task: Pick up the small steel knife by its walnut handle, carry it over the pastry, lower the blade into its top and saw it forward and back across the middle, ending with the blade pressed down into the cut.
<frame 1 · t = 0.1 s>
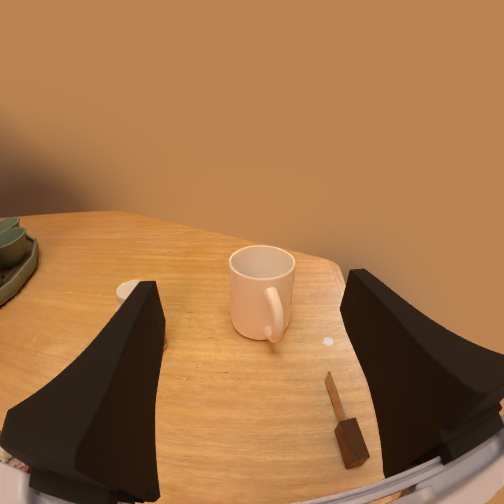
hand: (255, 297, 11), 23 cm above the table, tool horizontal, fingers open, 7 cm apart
supplement bottle: (148, 346, 37), on the table
knife: (339, 421, 27), on the table
pastry: (22, 463, 17), on the table
mug: (263, 331, 40), on the table
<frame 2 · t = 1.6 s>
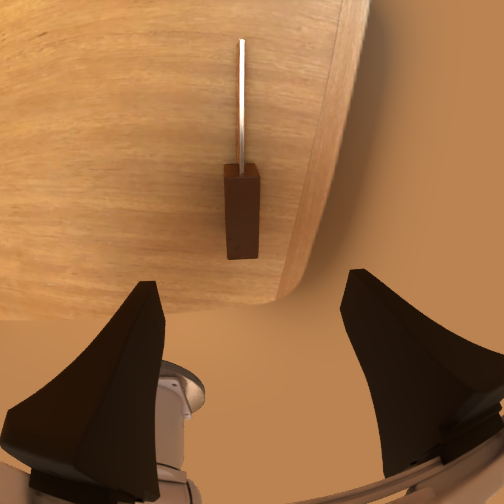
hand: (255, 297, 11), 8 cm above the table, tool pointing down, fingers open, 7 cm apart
knife: (239, 146, 16), on the table
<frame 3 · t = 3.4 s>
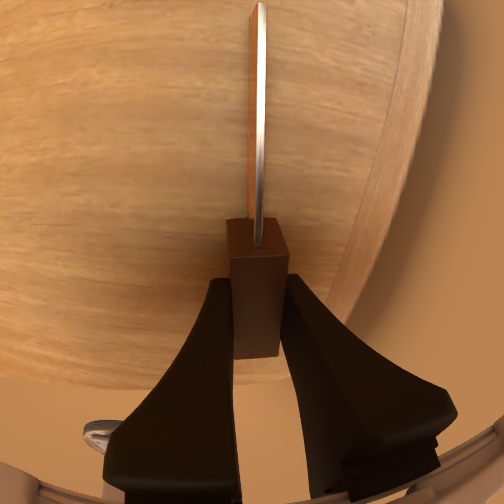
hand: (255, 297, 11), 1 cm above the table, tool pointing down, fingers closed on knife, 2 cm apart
knife: (251, 192, 10), on the table, touching gripper
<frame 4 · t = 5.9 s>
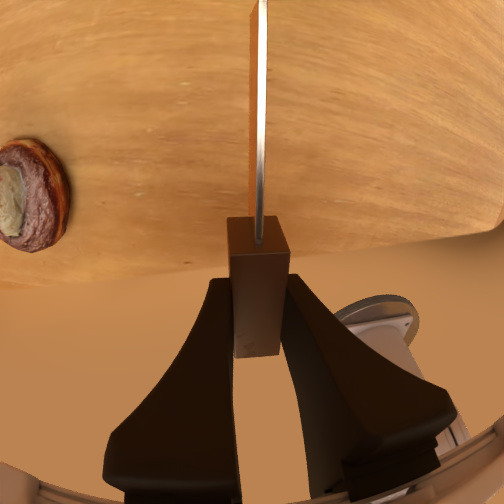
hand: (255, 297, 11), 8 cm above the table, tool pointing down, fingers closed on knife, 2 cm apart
knife: (252, 189, 10), point 7 cm above the table, touching gripper
pastry: (33, 191, 15), on the table
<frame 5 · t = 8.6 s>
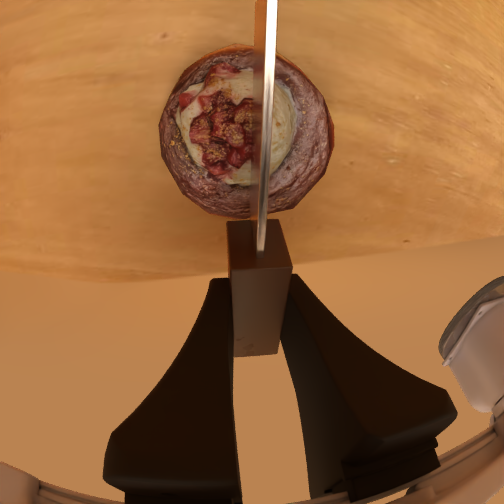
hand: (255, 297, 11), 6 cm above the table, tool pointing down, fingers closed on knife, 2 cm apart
knife: (253, 193, 9), point 5 cm above the table, tilted 8°, touching gripper
pastry: (243, 130, 13), on the table
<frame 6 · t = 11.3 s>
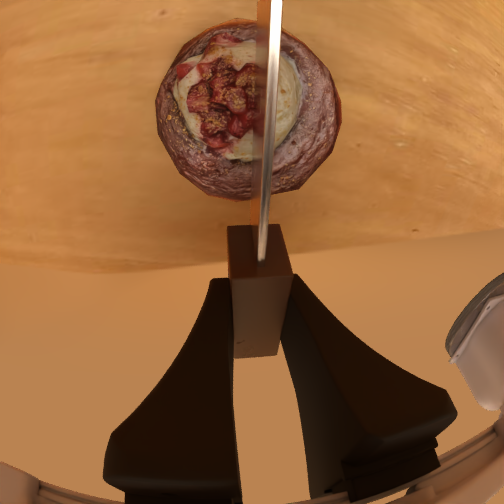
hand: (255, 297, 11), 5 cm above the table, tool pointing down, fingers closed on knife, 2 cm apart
knife: (254, 198, 9), point 5 cm above the table, tilted 10°, touching gripper, pastry
pastry: (244, 108, 12), on the table, touching knife
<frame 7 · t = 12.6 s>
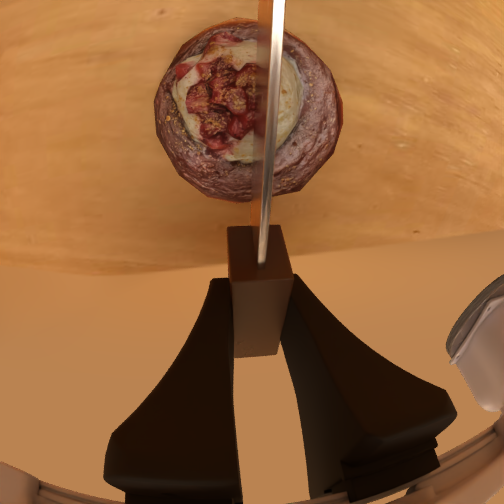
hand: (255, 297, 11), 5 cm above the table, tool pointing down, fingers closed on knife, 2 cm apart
knife: (254, 199, 9), point 5 cm above the table, tilted 12°, touching gripper, pastry
pastry: (244, 108, 12), on the table, touching knife
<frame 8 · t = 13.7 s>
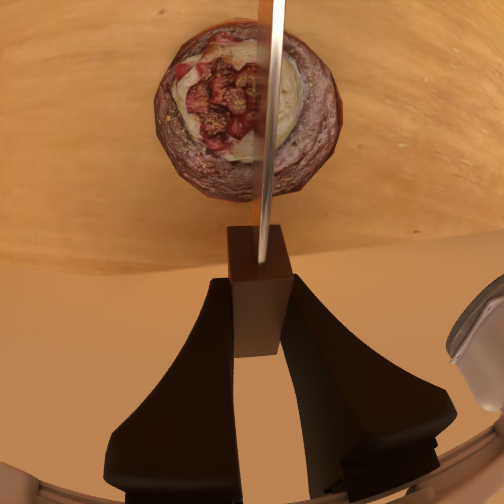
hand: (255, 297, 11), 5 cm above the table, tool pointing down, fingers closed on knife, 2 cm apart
knife: (254, 199, 9), point 5 cm above the table, tilted 12°, touching gripper, pastry
pastry: (244, 108, 12), on the table, touching knife
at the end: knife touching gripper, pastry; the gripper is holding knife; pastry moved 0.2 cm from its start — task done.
